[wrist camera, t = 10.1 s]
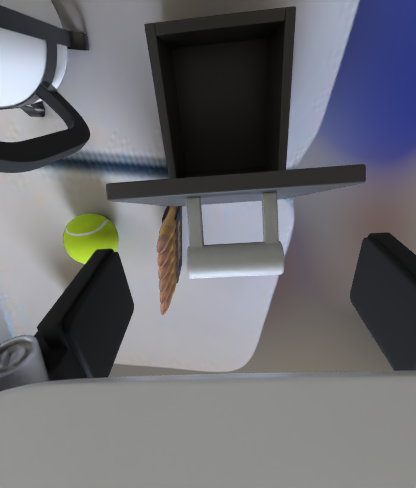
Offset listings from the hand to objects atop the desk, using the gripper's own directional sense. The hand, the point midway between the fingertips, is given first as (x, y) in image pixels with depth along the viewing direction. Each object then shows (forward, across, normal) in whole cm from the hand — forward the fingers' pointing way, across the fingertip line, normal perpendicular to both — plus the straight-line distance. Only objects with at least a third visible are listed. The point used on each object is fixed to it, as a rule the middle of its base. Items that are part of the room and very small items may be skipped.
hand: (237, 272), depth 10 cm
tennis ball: (+27, +19, +10) cm, 34 cm away
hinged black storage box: (+26, 0, -4) cm, 27 cm away
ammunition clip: (+27, +8, +12) cm, 30 cm away
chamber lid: (+10, 0, 0) cm, 10 cm away
